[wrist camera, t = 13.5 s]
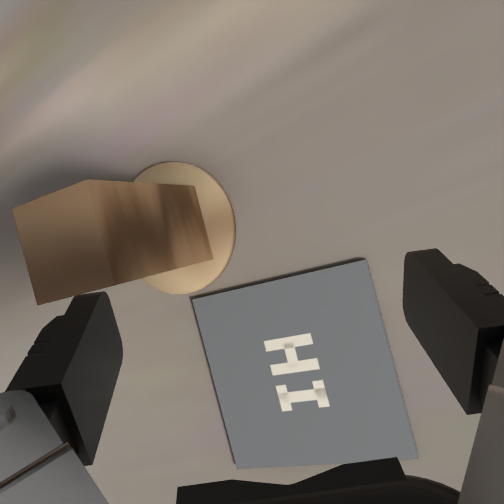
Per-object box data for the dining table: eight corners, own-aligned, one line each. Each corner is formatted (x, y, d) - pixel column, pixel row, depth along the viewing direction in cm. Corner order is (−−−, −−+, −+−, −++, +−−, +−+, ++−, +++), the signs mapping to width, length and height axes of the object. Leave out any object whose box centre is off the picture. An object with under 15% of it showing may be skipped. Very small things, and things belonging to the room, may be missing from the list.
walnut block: (133, 206, 32) (10, 209, 23) (194, 185, 30) (86, 179, 21) (152, 275, 32) (36, 305, 23) (213, 259, 30) (114, 285, 21)
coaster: (109, 184, 33) (104, 184, 33) (215, 144, 30) (212, 143, 29) (141, 303, 33) (137, 305, 33) (250, 277, 30) (248, 278, 29)
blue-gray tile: (194, 298, 31) (191, 299, 31) (366, 258, 27) (365, 259, 26) (239, 465, 32) (236, 469, 31) (418, 455, 27) (418, 459, 26)
